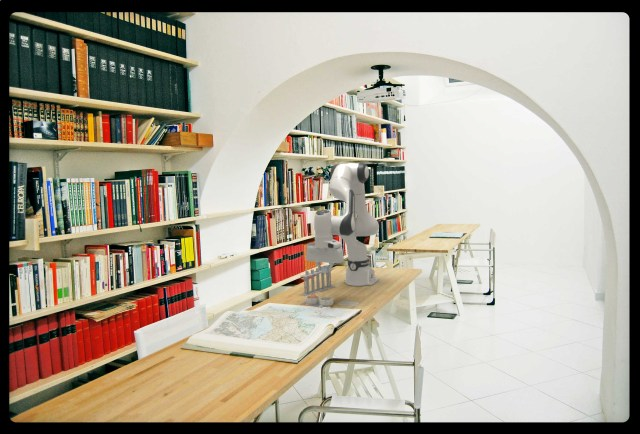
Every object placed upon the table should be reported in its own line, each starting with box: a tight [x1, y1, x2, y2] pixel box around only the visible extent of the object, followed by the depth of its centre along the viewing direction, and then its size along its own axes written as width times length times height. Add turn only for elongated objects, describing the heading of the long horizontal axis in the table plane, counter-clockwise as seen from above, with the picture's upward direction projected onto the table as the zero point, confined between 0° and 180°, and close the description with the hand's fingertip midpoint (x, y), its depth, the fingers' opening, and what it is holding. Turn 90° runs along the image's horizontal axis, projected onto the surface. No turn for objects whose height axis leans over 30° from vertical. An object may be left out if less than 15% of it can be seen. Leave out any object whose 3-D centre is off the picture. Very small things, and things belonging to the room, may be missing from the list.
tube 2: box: [319, 296, 334, 307], centre depth 239 cm, size 7×7×3 cm
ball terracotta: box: [309, 293, 318, 299], centre depth 244 cm, size 4×4×4 cm
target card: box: [299, 301, 336, 308], centre depth 240 cm, size 10×15×1 cm, turn 57°
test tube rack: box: [299, 264, 336, 297], centre depth 267 cm, size 25×4×13 cm, turn 141°
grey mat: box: [337, 300, 361, 307], centre depth 238 cm, size 6×10×1 cm, turn 57°
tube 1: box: [305, 294, 321, 304], centre depth 244 cm, size 7×7×3 cm
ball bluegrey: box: [321, 265, 329, 275], centre depth 238 cm, size 4×4×4 cm
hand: (325, 270), depth 238 cm, fingers closed on ball bluegrey, 4 cm apart
